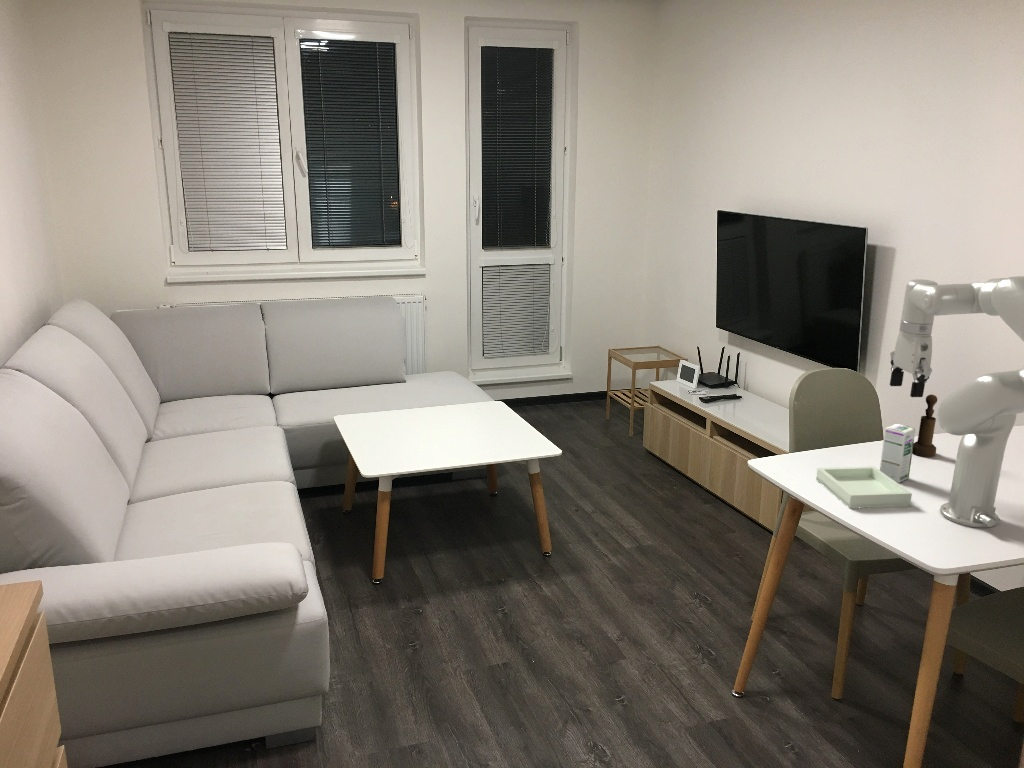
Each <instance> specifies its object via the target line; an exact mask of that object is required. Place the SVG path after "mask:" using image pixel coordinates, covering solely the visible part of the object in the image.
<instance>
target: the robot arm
mask: <svg viewBox="0 0 1024 768" xmlns="http://www.w3.org/2000/svg"><path fill="white" fill-rule="evenodd" d="M904 292H905V293H904V297H903V298H904V299H903V306H902V311H901V317H900V325H899V330H898V334H897V337H896V338H897V339H896V343H895V345H894V346H895V347H894V351H891V352H890V364H891V365H890V366H891V367H890V371H891V376H890V380H889V386H890V387H903V386H902V385H903V380H904V375H905V374H904V373H905V372H907V373H908V374H912V378H913V381H912V382H911V388H910V395H909V396H910V397H911V398H922V397H924V392H925V385H926V384H927V382H928V380H929V379H930V376H931V374H932V372H933V369H932V367H931V366H932V365H931V364H932V363H931V362H932V354H933V353H932V352H933V337H932V331H933V325H934V320H935V317H937V316H950V315H952V316H953V315H967V314H969V315H971V314H973V315H974V314H986V315H988V316H992V317H993V316H994V317H995V316H996V317H997V316H999V317H1000V318H1001V320H1002V321H1003V322H1004V323H1005V324H1006V325H1007V326H1008V327H1009V328H1010V329H1011V330H1012V331H1013V332H1014V334H1016V335H1017V336H1018V337H1019V338H1020V339H1021V340H1022V342H1024V276H1023V275H1022V276H1018V275H1017V276H1009V277H1003V278H1002V277H1001V278H992V279H988V280H987V281H985V282H976V283H975V282H972V283H971V282H970V283H947V284H938V283H937V282H936V281H934V280H930V279H929V280H928V279H917V278H916V279H911V280H909V281H908V282H907V284H906V286H905V291H904ZM904 371H905V372H904ZM918 375H919V376H918ZM1023 413H1024V366H1023V367H1022V368H1019V369H1016V370H1008V371H1000V372H999V371H997V372H990V373H985V374H982V375H980V376H977V377H975V378H974V379H972V380H971V381H969V382H967V383H966V384H964V385H963V386H961V387H960V388H958V389H957V390H955V391H954V392H952V393H950V394H949V395H947V396H946V397H945V398H944V399H943V400H942V402H941V403H940V404H939V406H938V410H937V415H936V420H937V422H938V424H939V427H940V428H941V429H942V430H944V432H946V433H948V434H950V435H951V436H952V435H953V436H961V439H960V441H959V444H958V448H957V454H956V458H955V464H954V465H955V466H954V469H953V474H952V475H953V477H952V482H951V487H950V492H949V493H950V494H949V498H948V499H949V500H948V502H945V503H943V504H942V505H940V509H939V512H940V514H941V515H942V516H943V517H944V518H946V519H947V520H950V521H951V522H954V523H955V524H956V523H957V524H959V525H963V526H966V527H971V528H972V527H973V528H980V529H981V528H984V529H985V528H993V527H996V526H997V525H998V524H999V523H1000V522H1001V518H1000V517H999V515H998V514H997V513H996V512H997V511H996V510H997V508H996V506H995V503H996V497H997V491H998V487H999V481H1000V476H1001V471H1002V465H1003V461H1004V457H1005V451H1006V447H1007V444H1008V441H1009V440H1008V439H1009V437H1010V434H1011V432H1012V430H1013V428H1014V425H1015V424H1016V420H1017V415H1018V414H1023Z"/></svg>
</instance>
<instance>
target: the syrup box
mask: <svg viewBox="0 0 1024 768" xmlns="http://www.w3.org/2000/svg"><path fill="white" fill-rule="evenodd" d="M915 435H916V428H914V427H912V426H908V425H905V424H900V423H894V424H893V425H890V426H887V427H885V428H884V433H883V441H882V442H883V443H882V449H881V456H880V466H879V470H880V471H881V472H883V473H884V474H885V475H887V476H888V477H890V478H891V479H892V480H894V481H895V482H897V483H898V484H900V483H901V482H904V481H905V480H908V479H909V478H910V474H911V473H910V472H911V464H912V457H913V453H912V452H913V444H914V443H915Z"/></svg>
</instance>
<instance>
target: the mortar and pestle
mask: <svg viewBox="0 0 1024 768" xmlns="http://www.w3.org/2000/svg"><path fill="white" fill-rule="evenodd" d="M925 402H926V405H927V408H925V415H921V417H920V422H919V430H918V436H917V441H914V444H913V452H912V455H915V456H918V457H923V458H925V457H926V458H933V457H935V456H936V453H937V447H936V446H935V445H934V444H933V439H934V433H935V426H936V422H937V417H934V416H933V415H934V413H935V409H934V406H935V405H936V404H937V403H938V397H937V396H936V395H935V394H928V395H927V396H925Z"/></svg>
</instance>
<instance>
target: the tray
mask: <svg viewBox="0 0 1024 768" xmlns="http://www.w3.org/2000/svg"><path fill="white" fill-rule="evenodd" d="M816 469H817V470H816V476H815V481H816V480H817V481H816V482H818V481H819V482H820V483H821V484H822V485H824V486H825V487H826V488H827V489H828V490H829V491H830V492H831V494H832V495H833V496H834V495H835V496H836V497H837V498H838V499H837V498H836V497H835V496H834V497H835V498H836V499H837V500H839V499H840V500H841V501H840V500H839V501H840V502H841V503H842V502H843V503H844V504H845V505H844V504H843V503H842V504H843V505H844V506H846V507H847V506H848V507H849V508H848V507H847V508H848V509H865V508H864V507H868V508H867V509H871V507H875V508H900V507H901V508H902V507H905V508H906V507H911V503H912V495H913V493H912V492H911V491H910V490H908V489H907V488H905V487H904V486H902V485H901V484H900V483H897V482H895V481H894V480H892V479H891V478H890V477H888V476H887V475H885V474H884V473H883V472H881V471H880V469H878V468H877V467H875V465H874V466H873V465H871V466H844V467H843V466H842V467H837V466H835V467H817V468H816ZM819 482H818V483H819ZM820 483H819V484H820ZM821 484H820V485H821ZM822 485H821V486H822ZM825 487H824V488H825ZM826 488H825V489H826ZM827 489H826V490H827ZM828 490H827V491H828ZM829 491H828V492H829ZM830 492H829V493H830ZM859 507H860V508H859ZM875 508H874V509H875Z"/></svg>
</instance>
